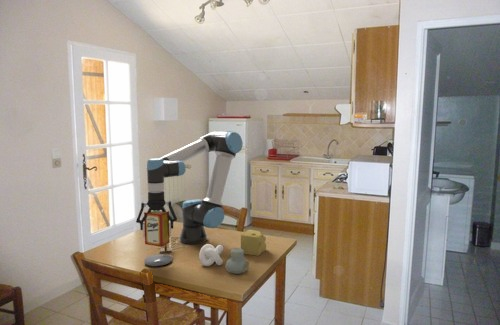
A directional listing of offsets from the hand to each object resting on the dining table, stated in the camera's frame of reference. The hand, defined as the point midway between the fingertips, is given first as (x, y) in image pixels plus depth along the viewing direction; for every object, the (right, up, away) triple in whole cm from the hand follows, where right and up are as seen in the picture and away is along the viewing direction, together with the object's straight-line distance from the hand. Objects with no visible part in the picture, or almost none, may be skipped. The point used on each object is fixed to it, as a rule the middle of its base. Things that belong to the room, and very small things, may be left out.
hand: (157, 235), depth 176 cm
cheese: (+46, -12, +16) cm, 50 cm away
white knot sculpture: (+27, -14, -1) cm, 30 cm away
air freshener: (+39, -15, -9) cm, 43 cm away
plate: (0, -13, +2) cm, 13 cm away
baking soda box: (0, -4, 0) cm, 4 cm away
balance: (0, -11, +16) cm, 19 cm away
